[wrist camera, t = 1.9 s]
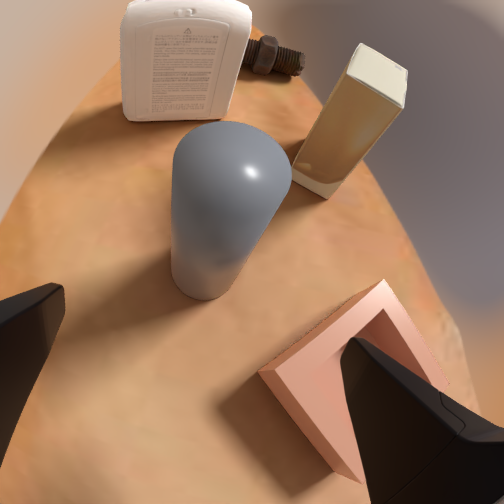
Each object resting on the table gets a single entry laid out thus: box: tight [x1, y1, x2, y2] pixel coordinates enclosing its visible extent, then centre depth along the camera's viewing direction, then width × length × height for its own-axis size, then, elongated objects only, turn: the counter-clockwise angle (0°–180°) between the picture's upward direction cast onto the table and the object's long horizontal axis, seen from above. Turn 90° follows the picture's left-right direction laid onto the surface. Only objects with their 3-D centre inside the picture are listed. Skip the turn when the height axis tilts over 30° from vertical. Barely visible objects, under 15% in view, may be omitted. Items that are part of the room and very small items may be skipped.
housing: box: [257, 279, 450, 484], centre depth 20 cm, size 10×10×4 cm
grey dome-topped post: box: [171, 121, 292, 300], centre depth 17 cm, size 5×5×12 cm
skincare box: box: [291, 43, 408, 199], centre depth 23 cm, size 6×4×12 cm
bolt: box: [242, 35, 305, 77], centre depth 31 cm, size 6×5×15 cm
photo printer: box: [120, 0, 252, 121], centre depth 22 cm, size 10×4×12 cm, turn 101°
